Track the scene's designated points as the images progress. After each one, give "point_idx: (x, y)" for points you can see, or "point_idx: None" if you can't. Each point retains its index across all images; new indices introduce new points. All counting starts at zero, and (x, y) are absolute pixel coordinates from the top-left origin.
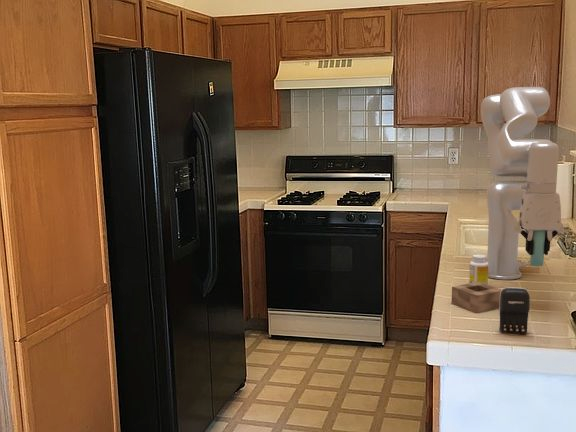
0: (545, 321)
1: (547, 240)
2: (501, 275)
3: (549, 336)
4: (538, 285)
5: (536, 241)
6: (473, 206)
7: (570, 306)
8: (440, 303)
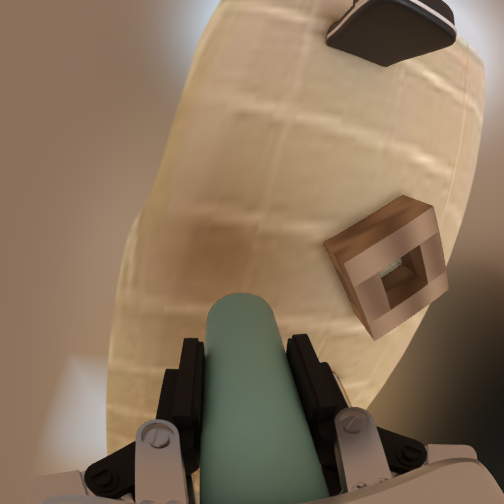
0: (243, 112)
1: (179, 430)
2: None
3: (275, 8)
4: None
5: (288, 411)
6: None
7: (125, 256)
8: None
